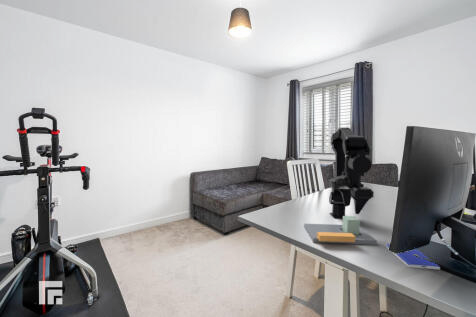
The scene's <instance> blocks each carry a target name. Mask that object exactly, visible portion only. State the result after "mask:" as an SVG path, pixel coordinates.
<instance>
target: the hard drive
mask: <svg viewBox="0 0 476 317" xmlns="http://www.w3.org/2000/svg"><path fill="white" fill-rule="evenodd" d="M389 244H390V243H387V244H385V247H386V248H387V247H388V248H387V249H388V250H389ZM413 254H417V255H419V256H420V258H419V257H416V256H414V255H413ZM394 255H395V256H396V257H397V258H398V259H399V260H400V261H401V262H402V263H404V265H406V266H407V267H408V268H416V269H430V270H441V266H440V265H438V264H437V263H436V262H434V261H433V262H434V263H433V262H430V261H428V260H425V259H423V258H427V259H428V258H429V257H427V255H425V254H424V253H422V252H421V251H419V250H418V249H417V248H415V250H412V251H408V252H404V253H399V254H394ZM421 257H422V258H421ZM435 263H436V264H435Z"/></svg>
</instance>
